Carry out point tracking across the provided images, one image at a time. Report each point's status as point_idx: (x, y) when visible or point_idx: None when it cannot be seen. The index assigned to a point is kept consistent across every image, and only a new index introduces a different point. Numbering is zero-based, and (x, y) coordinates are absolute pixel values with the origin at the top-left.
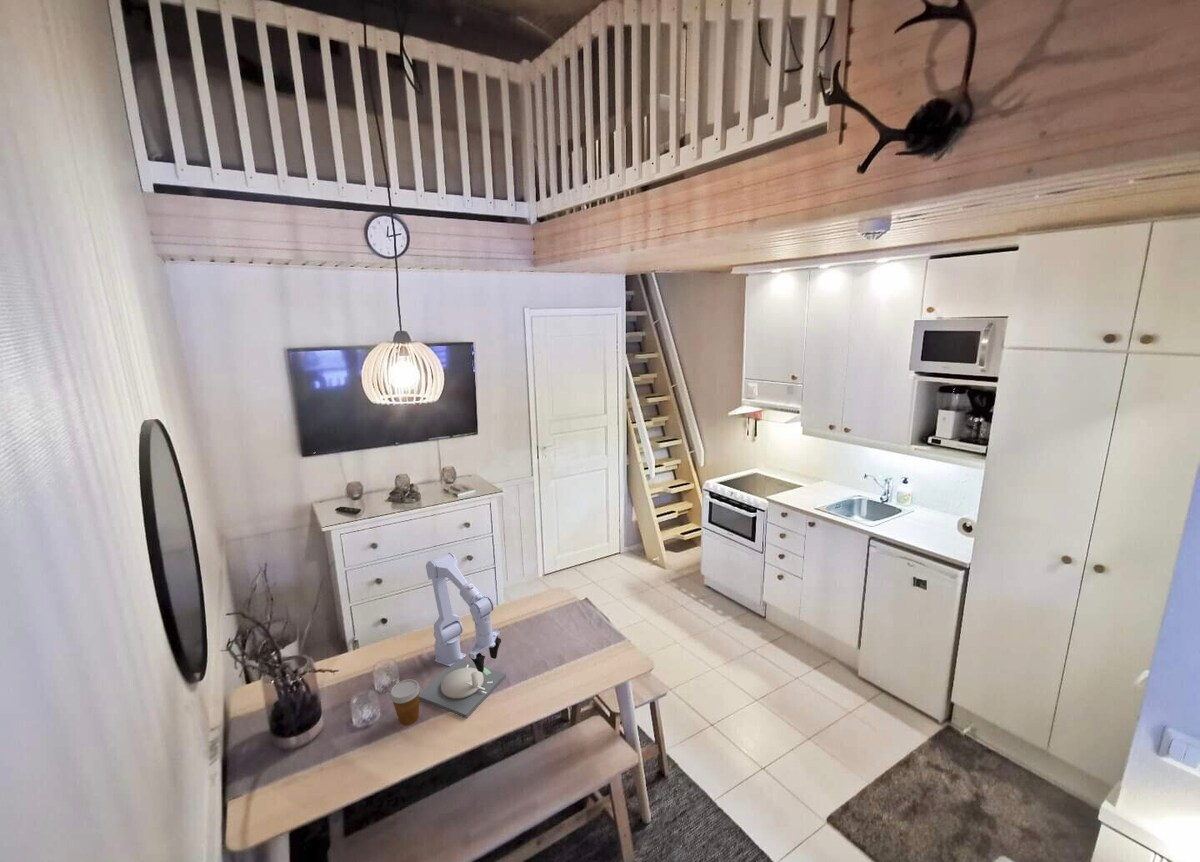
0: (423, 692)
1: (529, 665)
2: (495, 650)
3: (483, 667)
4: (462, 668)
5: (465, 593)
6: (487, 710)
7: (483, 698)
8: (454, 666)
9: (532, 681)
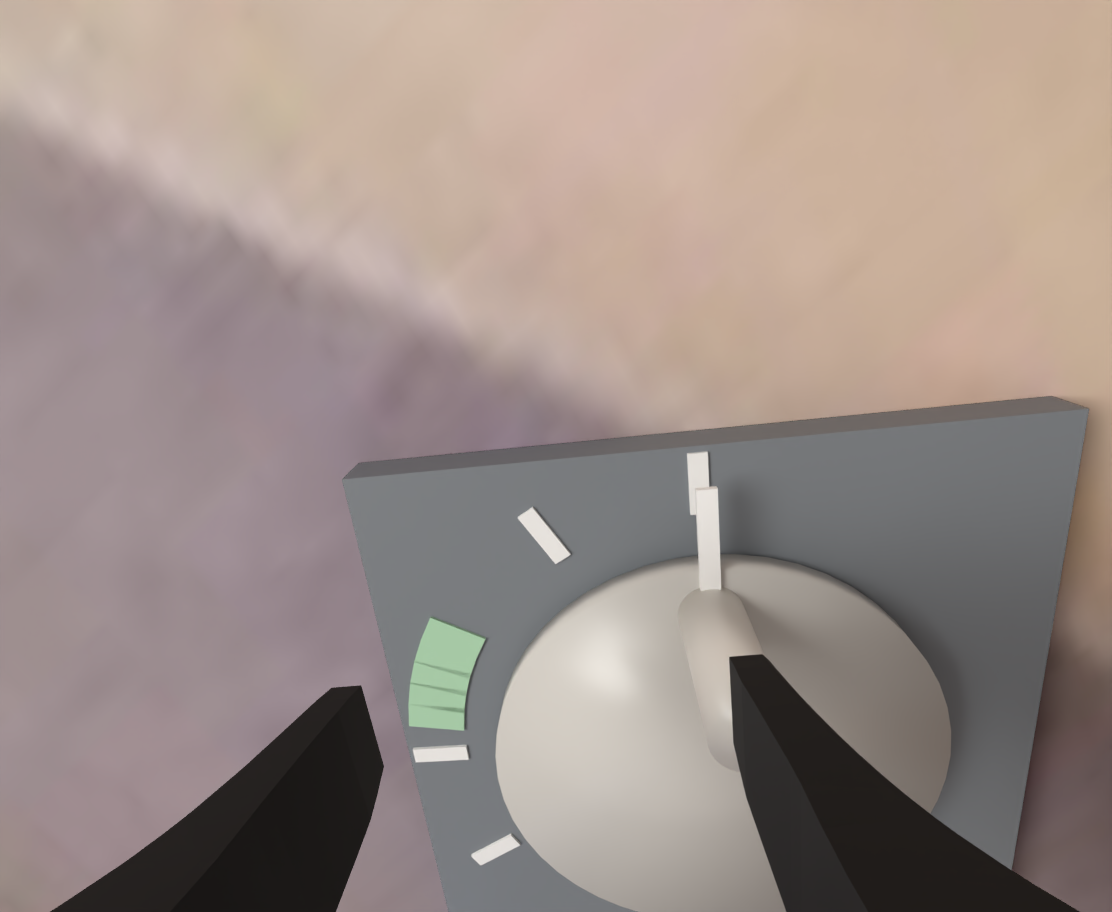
0: None
1: (60, 366)
2: (256, 843)
3: (766, 705)
4: (567, 873)
5: None
6: (858, 282)
7: (761, 433)
8: None
9: (207, 134)
